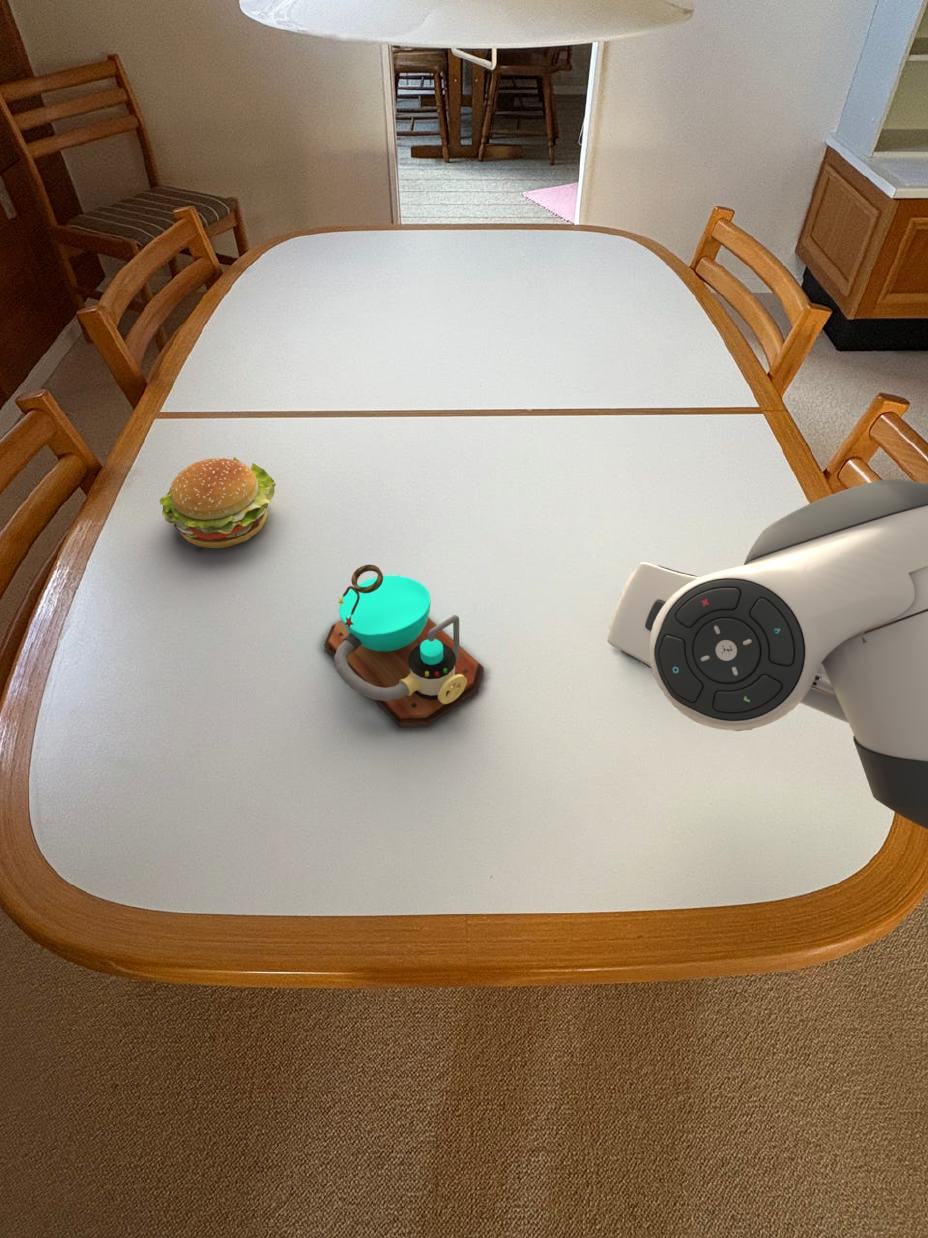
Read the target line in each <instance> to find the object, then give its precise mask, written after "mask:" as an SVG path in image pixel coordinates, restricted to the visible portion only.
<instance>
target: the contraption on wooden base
mask: <svg viewBox="0 0 928 1238" xmlns="http://www.w3.org/2000/svg"><path fill="white" fill-rule="evenodd" d="M367 572H375V573H376V574H377V576H375V577H372V578H369V579H366V580H364V581H362V582H359V583H358V580H359V578H360V577H361V576H362V575H363V574H364V573H367ZM350 582H351V585H348V586H347V588H346V590H345V591H344V592H343V594H342V598H341V597H338V602H337V603H338V605H339V606H338V614H339V617H340V621H338V622H336V623H334V624H333V625H331V627H330V629H329V632H328V634H327V636H326V638H325V640H324V643H323V647H324V649H325V650H326V651H327V653H328V654H330V655H331V656H332V658H333V660H334V661H333V662H334V664H335V665H334V666H335V670H336V672H337V674H338V675H339V676H340V678H341V679H342V681H343V682H344V683H345V684H346V685H347V686H349V687H350V688H351V689H353V690H354V691H355V692H357V694H360V695H362V696H364V697H366V698H369V699H371V700H373V701H374V702H375V703H376V704H377V705H378V706H379V707H380V708H381V709H382V710H383V711H384V712H385V713H386V714H387V715H388V716H389V717H390V718H391V720H393V721H394V723H396V725H397V726H398V727H399V728H418V727H430V726H431V725H432V724H433V723H435V722H436V721H438V720H439V719H441V718H442V717H444V716H446V715H447V714H448V713H450V712H451V711H453V710H454V709H455V708H457V707H458V706H460V705H461V704H463V703H464V702H466V701H468V700H469V699H470V698H471V697H473V696H474V695H476V694H477V693H479V691H480V687H481V683H482V679H483V675H484V671H485V670H484V669H485V668H484V666H483V665H482V664H481V663H479V662H478V661H477V660H476V659H475V658H474V657H473V656H472V655H471V654H469V652H468V651H466V649H464V648H463V647H462V646H461V645H460V617H459V615H457V614H454V615H451V616H450V617H449V618H446V619H445V620H443V621H442V622H440V623H439V624H436V623H435V622H434V621H433V619H431V618H430V617H429V616H430V611H431V594H430V591H429V590H428V589H427V588H426V586H425V585H424V584H422V583H421V582H419V581H417V580H415V579H413V578H410V577H408V576H402V575H397V574H387V575H383V572H382V570H381V568H380V567H379V566H377V565H375V564H364V565H361V566H360V567H358V568H357V569H356V570H354V571H353V574H352V576H351V581H350ZM451 625H452V636H453V638H452V637H451V636H449V635H448V633H446V632H445V631H444V629H445V628H447V627H449V626H451Z"/></svg>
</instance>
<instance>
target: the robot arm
mask: <svg viewBox="0 0 928 1238" xmlns="http://www.w3.org/2000/svg"><path fill="white" fill-rule="evenodd" d="M608 628H609V632H608V635H607V639H606V640H607V641H606V642H607V643H608V644H609V645H610V646H611V647H613V648H616V649H618V650H620V652H622V653H623V654H625V655H627V656H629V657H631V658H633V659H634V660H636V661H638V662H640V663H642V664H643V665H645V666H647V667H648V668H650V669H651V671H652V673H653V677H654V679H655V681H656V684H657V685H658V687H659V689H660V690H661V692H662V693H663V695H664V696H665V698H666V699H667V700H668V701H669V702H670V703H671V705H673V706H674V707H675V708H676V709H677V710H678V712H680V713H681V714H683V715H684V716H685V717H687V718H688V719H689V720H691V721H693V722H695V723H697V724H699V725H702V726H706V727H709V728H713V729H717V730H724V731H734V730H744V731H747V730H746V729H752V730H754V729H757V728H760V727H763V726H767V725H770V724H772V723H773V722H774V723H775V722H777V721H778V720H780V719H781V718H783V717H785V716H787V715H788V714H789V713H790V712H791V711H793V710H794V709H795V708H796V707H797V706H798V705H799V704H801V705H803V706H806V707H809V708H811V709H814V710H816V711H818V712H821V713H822V714H825V715H828V716H830V717H832V718H835V719H837V720H840V721H842V722H845V723H847V724H849V727H850V730H851V731H852V733H853V736H852V738H853V739H852V740H853V743H854V746H855V749H856V752H857V754H858V757H859V760H860V763H861V766H862V768H863V772H864V774H865V777H866V781H867V784H868V787H869V789H870V791H871V795H872V797H873V798H874V799H875V801H877V802H879V803H880V804H882V805H883V806H884V807H886V808H888V809H889V810H890V811H892V812H894V813H896V814H897V815H899V816H901V817H903V818H905V819H907V820H908V821H910V822H912V823H913V824H916V825H917V826H920V827H922V828H924V829H926V830H928V483H927V482H926V483H925V482H920V481H915V480H907V479H900V478H899V479H897V478H889V479H880V480H875V481H871V482H867V483H862V484H858V485H856V486H853V487H850V488H847V489H844V490H841V491H838V492H834V493H832V494H830V495H827V496H825V497H822V498H820V499H817V500H815V501H813V502H811V503H809V504H807V505H804V506H802V507H801V508H799V509H798V508H797V509H796V510H795V511H792V512H791V513H789V514H787V515H785V516H784V517H781V518H780V519H778V520H777V521H774V522H773V523H771V524H770V525H769V526H767V527H765V529H763V530H762V532H761V533H760V534H759V536H758V537H757V539H756V540H755V542H754V543H753V545H752V546H751V548H750V549H749V551H748V553H747V555H746V558H745V560H744V563H743V565H739V566H735V567H731V568H727V569H726V568H725V569H721V570H718V571H714V572H710V573H707V574H704V575H702V576H698V575H694V574H691V573H686V572H682V571H678V570H675V569H671V568H668V567H665V566H662V565H659V564H658V565H656V564H653V563H650V562H646V561H645V562H640V563H639V564H638V565H637V567H636V568H635V570H634V571H633V572H631V573H630V574H629V576H628V578H627V580H626V582H625V584H624V587H623V589H622V591H621V593H620V596H619V598H618V601H617V602H616V605H615V608H614V611H613V613H612V615H611V618H610V620H609V623H608ZM753 728H754V729H753Z"/></svg>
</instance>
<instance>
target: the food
mask: <svg viewBox="0 0 928 1238" xmlns="http://www.w3.org/2000/svg"><path fill="white" fill-rule="evenodd" d="M276 485H277V483H276V482H275V480H274V479H273V477H272V476H270V475H269V474H268V472H266V470H265V469H263V468H262V467H260V466H259V465H257V464H256V463H251V466H250V467H249V466H248V465H247V464H245V463H243V462H241V461H240V460H239V459H237V458H236V456H233V459H232V458H230V459H229V458H225V457H218V458H217V457H216V458H206V459H204V460H200V461H197V462H196V461H195V462H194V463H192V464H191V465H188V466H187V467H185V468H184V469H183V470H181V471H180V472H178V474H177V476H175V478H174V479H173V480H172V483H171V485H170V487H169V491H168V492H167V493H166V494H165V495H164V496H162V497H160V499H159V500H158V501H159V504H160V505H161V506H162V511H161V514H162V516H163V517H164V520H165V522H166V523H168V524H169V525H171V524H172V525H173V526H174V528H175V529H176V530H177V531H178V532H179V533H180V536H182V537H183V538H184V539H185V540H186V541H187V542H188V543H190V544H193V545H195V546H197V547H200V548H208V549H209V548H210V549H221V548H229V547H232V546H235V545H238V544H241V543H244V542H247V541H248V540H249V539H252V537H253V536H254V535H256V534H257V533H258V532H260V531H261V530H262V529H263V527H264V525H265V523H266V520H267V518H268V507H269V504H270V503H271V501H272V499H273V497H274V495H275V487H276Z"/></svg>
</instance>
